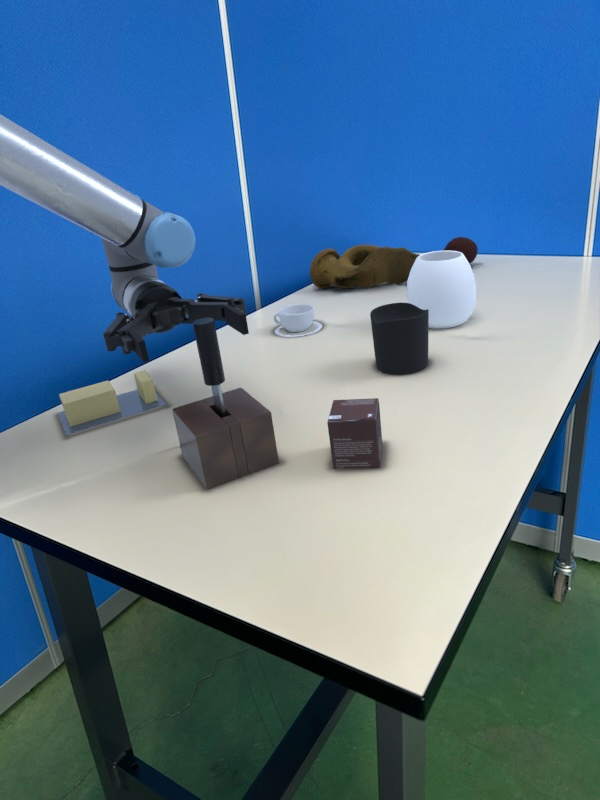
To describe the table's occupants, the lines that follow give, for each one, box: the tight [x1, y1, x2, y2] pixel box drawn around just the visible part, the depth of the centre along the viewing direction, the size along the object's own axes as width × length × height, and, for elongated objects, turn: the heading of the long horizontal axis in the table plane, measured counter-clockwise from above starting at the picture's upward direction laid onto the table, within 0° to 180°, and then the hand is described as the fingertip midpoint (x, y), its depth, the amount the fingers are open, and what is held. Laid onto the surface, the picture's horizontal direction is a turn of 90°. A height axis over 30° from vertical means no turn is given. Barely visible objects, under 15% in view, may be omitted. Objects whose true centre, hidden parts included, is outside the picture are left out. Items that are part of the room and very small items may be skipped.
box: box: [326, 397, 384, 470], centre depth 79 cm, size 6×6×7 cm
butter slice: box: [133, 369, 158, 404], centre depth 104 cm, size 2×5×4 cm, turn 27°
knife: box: [192, 318, 226, 418], centre depth 79 cm, size 3×3×20 cm
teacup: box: [273, 303, 323, 338], centre depth 129 cm, size 10×10×5 cm
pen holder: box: [369, 302, 430, 376], centre depth 104 cm, size 9×9×10 cm
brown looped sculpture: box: [309, 244, 420, 290], centre depth 151 cm, size 18×13×22 cm
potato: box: [443, 236, 479, 265], centre depth 159 cm, size 8×9×8 cm
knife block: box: [171, 387, 280, 490], centre depth 82 cm, size 10×10×8 cm
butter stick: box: [58, 380, 121, 427], centre depth 100 cm, size 8×5×4 cm, turn 117°
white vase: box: [406, 250, 477, 330], centre depth 121 cm, size 13×13×14 cm
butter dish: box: [57, 389, 167, 436], centre depth 103 cm, size 16×10×1 cm, turn 117°
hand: (196, 337), depth 79 cm, fingers open, 13 cm apart
